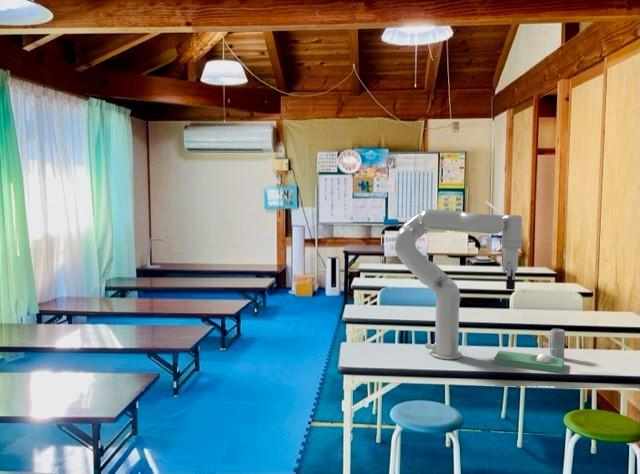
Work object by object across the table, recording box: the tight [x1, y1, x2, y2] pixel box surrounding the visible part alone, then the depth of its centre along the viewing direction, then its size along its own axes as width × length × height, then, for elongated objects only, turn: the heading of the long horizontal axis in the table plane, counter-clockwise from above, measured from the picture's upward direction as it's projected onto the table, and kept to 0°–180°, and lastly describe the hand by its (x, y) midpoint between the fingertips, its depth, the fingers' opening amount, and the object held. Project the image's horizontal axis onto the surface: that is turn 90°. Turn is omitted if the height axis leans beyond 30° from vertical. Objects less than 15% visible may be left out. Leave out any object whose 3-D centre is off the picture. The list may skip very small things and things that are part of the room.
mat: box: [493, 350, 565, 374], centre depth 220 cm, size 25×12×2 cm, turn 63°
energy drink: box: [549, 328, 566, 359], centre depth 228 cm, size 5×5×12 cm
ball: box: [537, 353, 550, 363], centre depth 217 cm, size 5×5×5 cm
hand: (510, 289), depth 226 cm, fingers closed
